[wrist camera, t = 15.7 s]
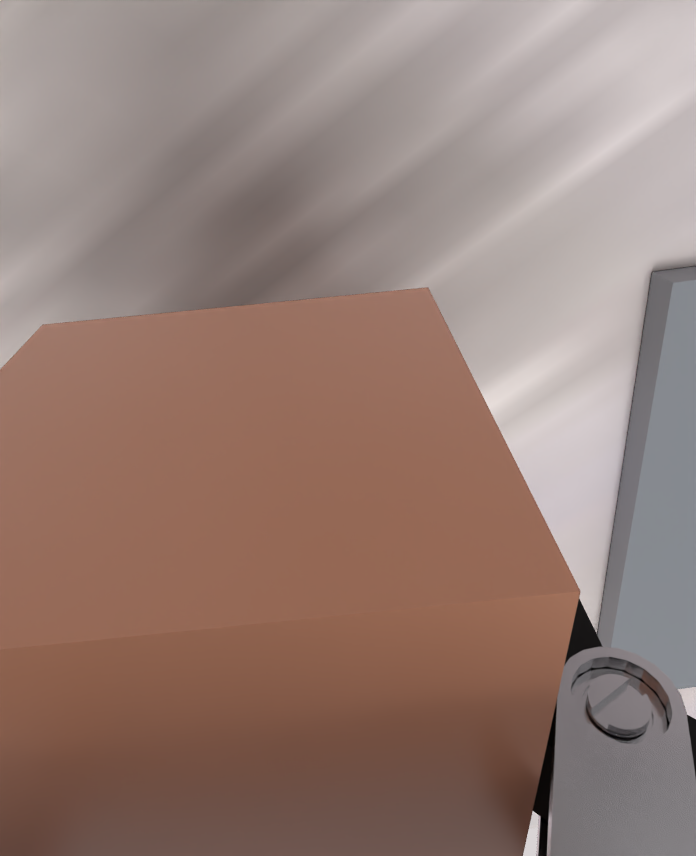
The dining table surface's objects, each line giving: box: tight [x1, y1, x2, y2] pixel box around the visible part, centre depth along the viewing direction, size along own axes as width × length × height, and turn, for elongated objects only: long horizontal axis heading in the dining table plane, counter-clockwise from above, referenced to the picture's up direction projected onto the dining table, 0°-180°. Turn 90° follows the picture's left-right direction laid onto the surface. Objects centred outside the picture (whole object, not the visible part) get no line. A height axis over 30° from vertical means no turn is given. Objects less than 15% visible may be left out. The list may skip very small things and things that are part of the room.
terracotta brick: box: [0, 288, 580, 856], centre depth 9 cm, size 8×6×6 cm
